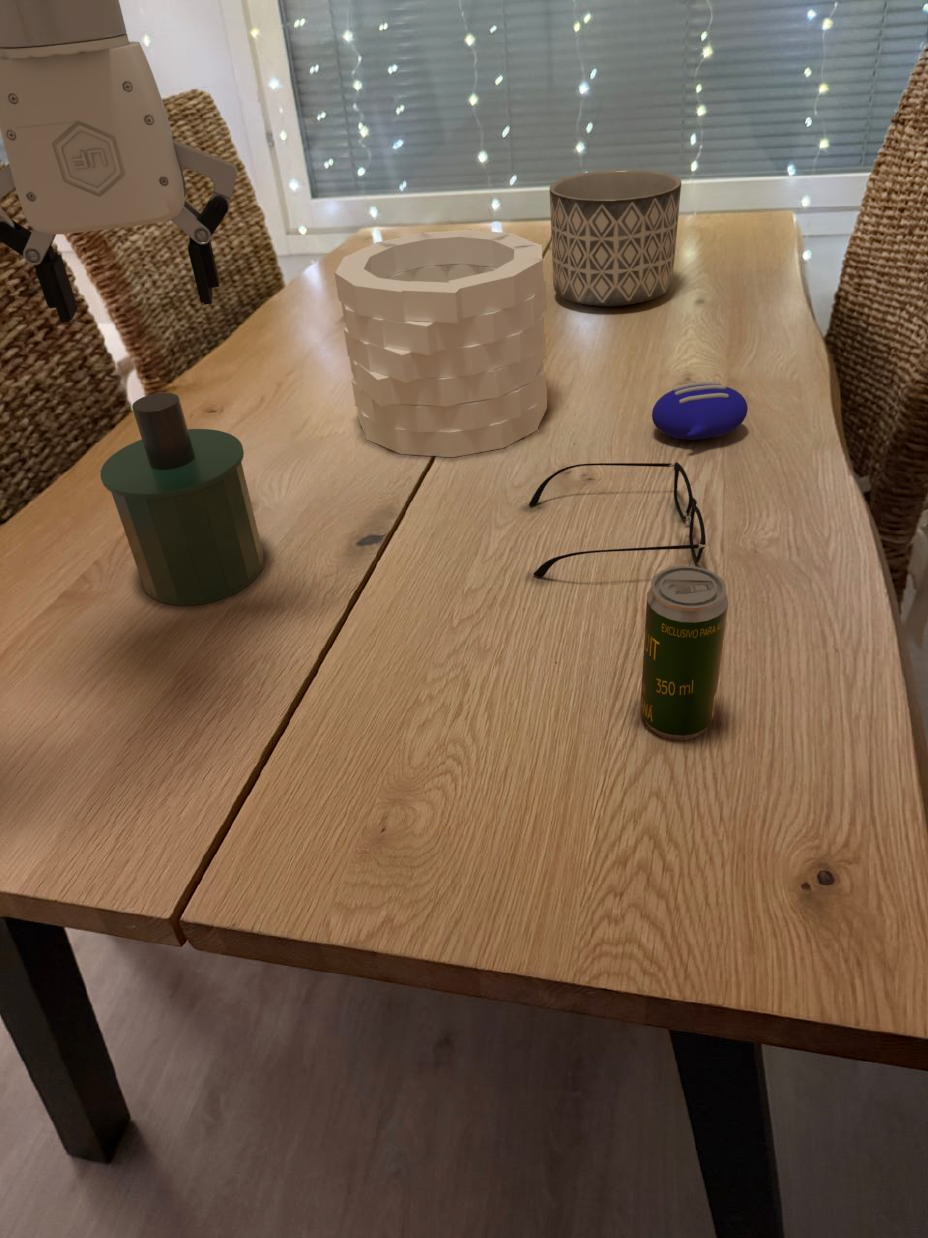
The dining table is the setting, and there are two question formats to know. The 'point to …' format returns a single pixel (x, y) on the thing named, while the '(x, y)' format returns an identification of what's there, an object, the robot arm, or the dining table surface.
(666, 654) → the green soda can
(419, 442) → the basket
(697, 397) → the decorative object
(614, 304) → the planter
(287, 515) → the dining table surface
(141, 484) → the lid
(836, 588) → the dining table surface
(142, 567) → the canister
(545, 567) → the eyeglasses
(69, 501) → the dining table surface
